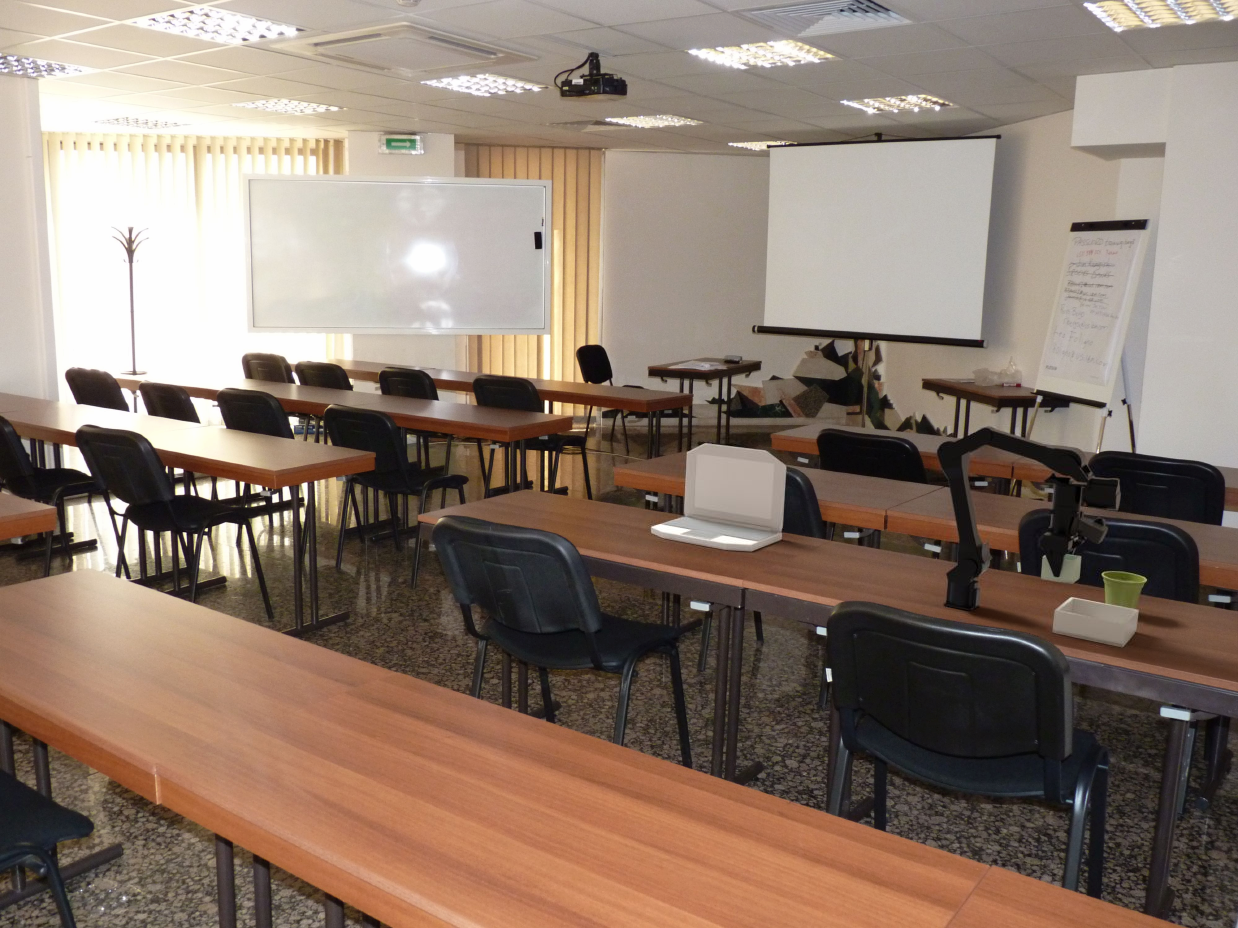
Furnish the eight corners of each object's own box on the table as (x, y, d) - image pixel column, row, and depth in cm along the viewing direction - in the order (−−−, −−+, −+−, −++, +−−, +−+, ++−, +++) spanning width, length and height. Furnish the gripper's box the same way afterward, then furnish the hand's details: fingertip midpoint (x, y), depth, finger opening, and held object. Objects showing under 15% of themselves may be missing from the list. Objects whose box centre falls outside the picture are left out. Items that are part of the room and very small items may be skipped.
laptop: (644, 536, 296) (647, 448, 292) (685, 523, 316) (689, 440, 312) (744, 555, 278) (750, 461, 274) (782, 540, 298) (787, 452, 294)
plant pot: (1147, 620, 229) (1152, 583, 228) (1103, 616, 231) (1108, 579, 230) (1135, 608, 238) (1139, 573, 237) (1093, 604, 240) (1097, 569, 239)
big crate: (1052, 632, 217) (1054, 610, 216) (1068, 618, 228) (1071, 596, 227) (1122, 647, 209) (1125, 624, 208) (1136, 631, 220) (1138, 609, 219)
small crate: (1040, 578, 221) (1042, 556, 220) (1048, 573, 226) (1050, 551, 226) (1072, 583, 217) (1074, 561, 217) (1079, 578, 222) (1081, 556, 222)
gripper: (1096, 515, 207) (1089, 588, 209) (1115, 503, 222) (1109, 572, 224) (1039, 509, 214) (1034, 579, 216) (1062, 497, 229) (1057, 564, 231)
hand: (1060, 574), depth 222 cm, fingers closed on small crate, 6 cm apart
